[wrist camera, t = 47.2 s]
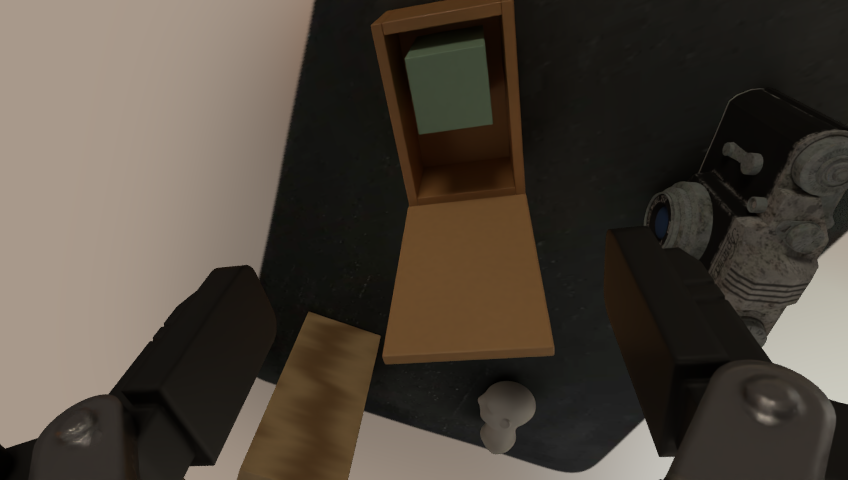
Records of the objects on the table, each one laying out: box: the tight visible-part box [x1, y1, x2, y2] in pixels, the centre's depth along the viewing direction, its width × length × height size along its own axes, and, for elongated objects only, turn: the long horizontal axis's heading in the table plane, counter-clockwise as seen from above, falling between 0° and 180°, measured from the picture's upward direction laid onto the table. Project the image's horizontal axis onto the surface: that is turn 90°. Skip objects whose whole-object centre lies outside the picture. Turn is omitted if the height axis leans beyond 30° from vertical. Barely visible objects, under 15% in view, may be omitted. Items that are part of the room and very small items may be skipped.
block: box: [405, 25, 493, 134], centre depth 26 cm, size 4×4×6 cm
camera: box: [644, 87, 848, 347], centre depth 28 cm, size 15×7×10 cm, turn 177°
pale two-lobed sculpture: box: [478, 381, 536, 454], centre depth 45 cm, size 4×8×5 cm
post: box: [237, 312, 381, 480], centre depth 38 cm, size 7×7×15 cm
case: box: [371, 0, 525, 207], centre depth 28 cm, size 11×7×5 cm
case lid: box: [382, 194, 554, 364], centre depth 24 cm, size 11×7×1 cm
